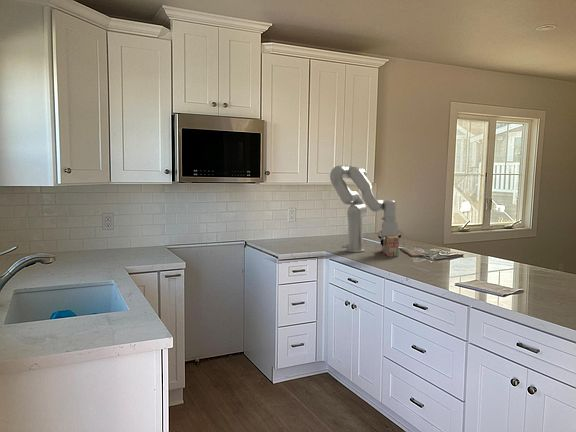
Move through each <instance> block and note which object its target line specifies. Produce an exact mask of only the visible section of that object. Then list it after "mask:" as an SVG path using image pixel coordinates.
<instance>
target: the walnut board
mask: <svg viewBox="0 0 576 432" xmlns="http://www.w3.org/2000/svg"><path fill="white" fill-rule="evenodd" d="M414 249H417V250H422V248H420V247H418V246H417V247H400V249H399V250H400V251H402V252H404V253H405V254H407V255H408V256H410V257H411V258H423V257H422V256H424V255H425V254H421V253H417V252H415V251H413V250H414Z"/></svg>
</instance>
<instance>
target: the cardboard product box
mask: <svg viewBox="0 0 576 432" xmlns="http://www.w3.org/2000/svg"><path fill="white" fill-rule="evenodd" d="M383 240H384V246H382V245H381V250H382V252H383V253H384V254H386V256H388V258H389V257H399V246H400V245H399V244H400V242H399V241H400V238H398V237H397V236H387V237H384V238H383Z"/></svg>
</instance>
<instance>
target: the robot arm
mask: <svg viewBox="0 0 576 432" xmlns="http://www.w3.org/2000/svg"><path fill="white" fill-rule="evenodd" d="M329 178H330V179H329V180H330V183H331V185H332V186H333V188H334V190H335V191H336V193H337V195H338V197H339V199H340V200H341V202H342V203H343V204H344V205H345V206H347V205H349V207H348V208H347V211H346V212H347V213H346V214H347V221H348V223H347V224H348V227H347V228H348V230H347V233H348V235H347V236H348V243H347V244H342V245H341V249H345V251H346V252H349V253H362V252H366V249H365V248H364V247H363V243H364V242H363V233H364V232H363V229H364V227H363V218H362V217H365V216H366V215H367V213H368V208H369V210H370V211H371V212H374V213H377V212H382V211H383V217H381V220H382V224H381V229H380V230H379V231H378V232H376V234H375V235H376V236H377V238H379V240H380V245H381V247H382V246H384V240H383V238H384V237H387V236H397V237H398V238H399V239H401V237H402V236H403V231H400V230H399V226H398V221H397V220H396V219H397V218H396V215H397V213H396V209H397V207H396V206H397V205H396V204H397V202H396V201H395V200H393V199H390V200H389V199H386V200H385V199H377V198H376V197H375V195H374V194H373V190H372V183H371V182H370V181H369V179H368V178H367V172H366V170H365V169H364V168H363V167H356V166H352V165H336V166H334V167H333V168H332V169H331V171H330V175H329ZM345 178H346V179H351V180H352V182H353V183H354V184H355V186H356V187H357V189H358V190H359V192H360V194H359V192H357V191H356V190H351V189H350V187H349V186H348V184H347V183H346V181H345V180H344V179H345ZM361 196H362V197H361ZM367 207H368V208H367ZM380 234H381V235H380Z"/></svg>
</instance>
